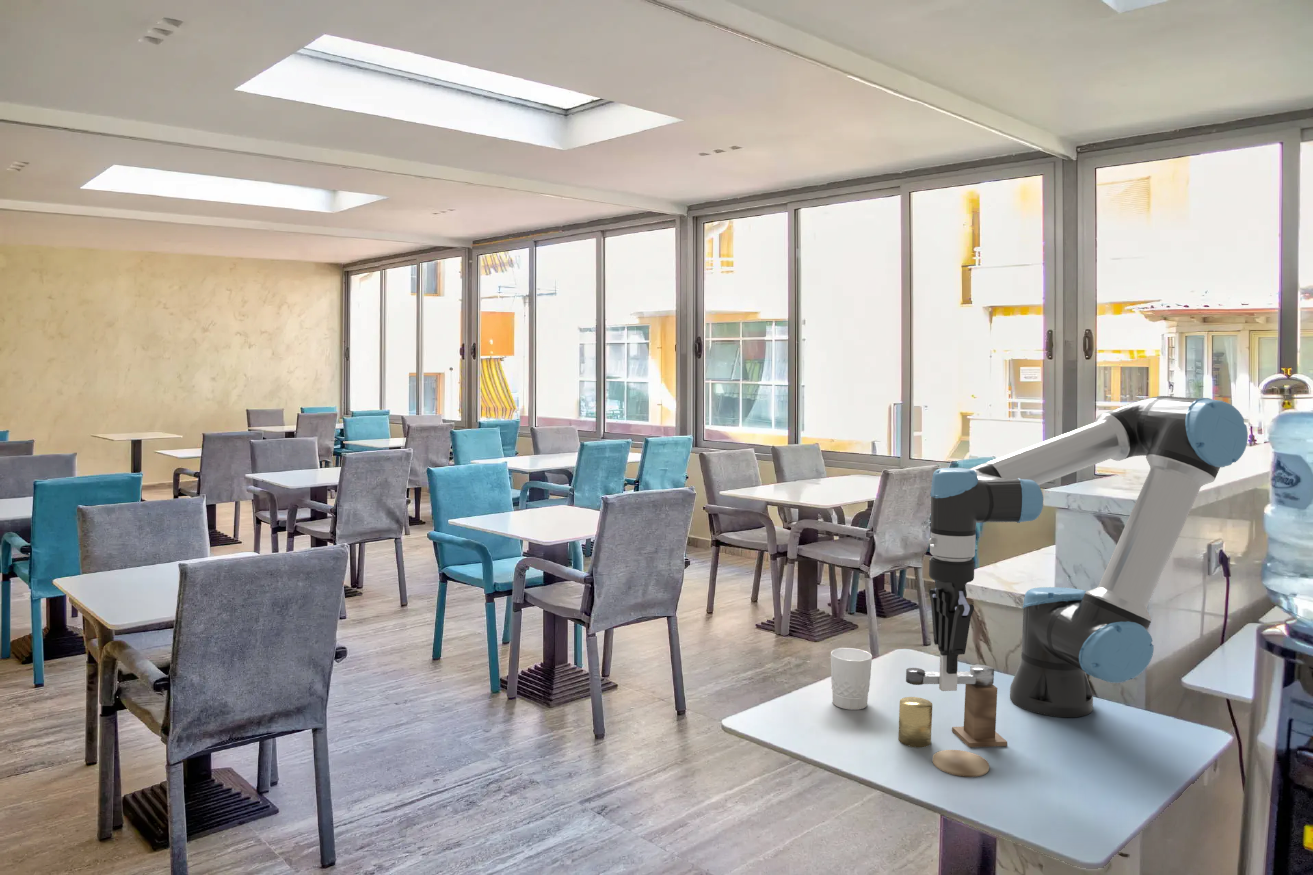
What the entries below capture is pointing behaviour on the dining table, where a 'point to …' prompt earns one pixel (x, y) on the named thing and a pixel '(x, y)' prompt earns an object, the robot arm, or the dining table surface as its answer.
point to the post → (980, 717)
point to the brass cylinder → (915, 722)
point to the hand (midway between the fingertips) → (947, 689)
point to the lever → (975, 676)
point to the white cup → (850, 677)
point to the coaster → (960, 763)
